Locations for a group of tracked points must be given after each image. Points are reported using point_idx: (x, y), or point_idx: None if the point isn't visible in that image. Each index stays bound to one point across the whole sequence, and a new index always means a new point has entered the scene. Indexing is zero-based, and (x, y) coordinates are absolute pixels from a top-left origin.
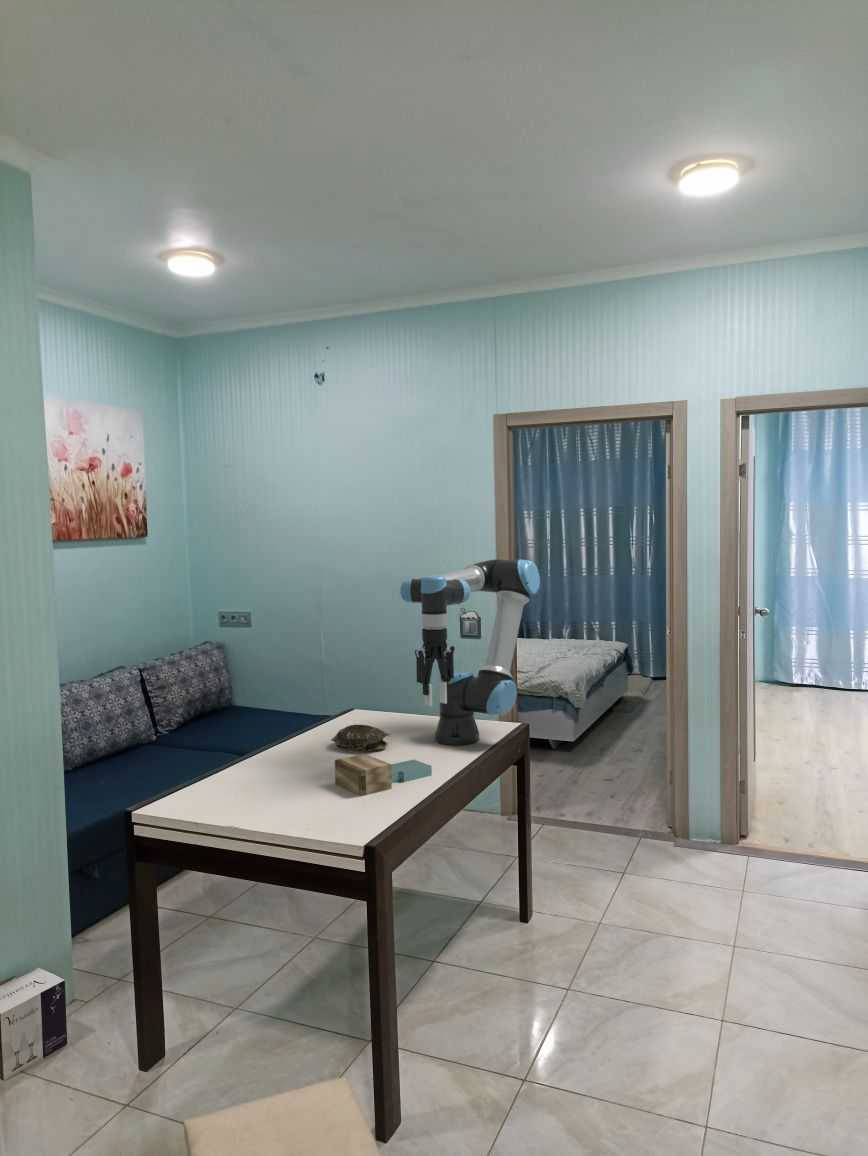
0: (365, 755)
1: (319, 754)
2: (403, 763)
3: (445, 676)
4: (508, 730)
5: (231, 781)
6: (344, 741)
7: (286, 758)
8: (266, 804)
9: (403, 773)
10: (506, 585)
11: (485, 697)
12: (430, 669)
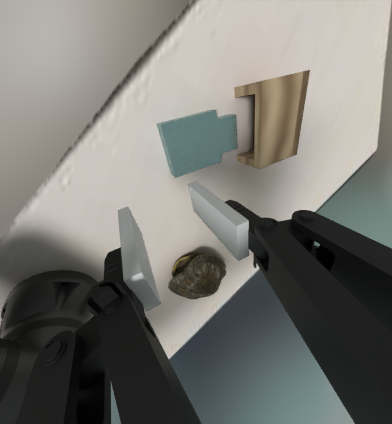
0: (262, 159)
1: None
2: (197, 161)
3: (137, 319)
4: None
5: (314, 195)
6: (220, 265)
7: None
8: (338, 113)
9: (215, 111)
10: None
11: None
12: (342, 309)
